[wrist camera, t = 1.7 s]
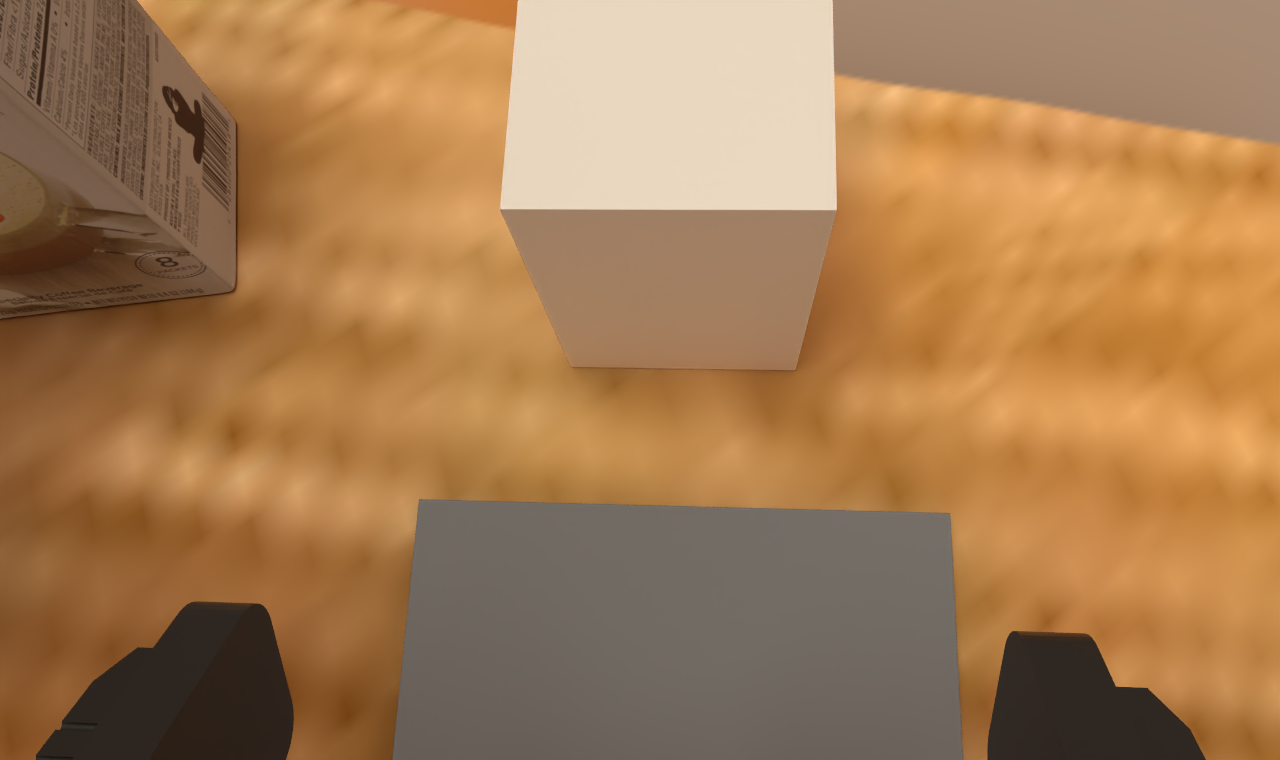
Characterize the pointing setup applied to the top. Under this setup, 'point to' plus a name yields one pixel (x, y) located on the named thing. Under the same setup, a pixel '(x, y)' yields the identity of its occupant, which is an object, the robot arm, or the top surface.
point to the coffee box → (108, 162)
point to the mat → (678, 634)
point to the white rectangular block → (673, 176)
